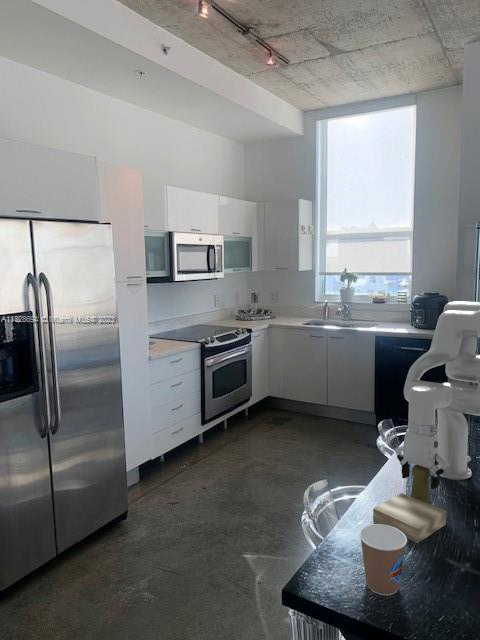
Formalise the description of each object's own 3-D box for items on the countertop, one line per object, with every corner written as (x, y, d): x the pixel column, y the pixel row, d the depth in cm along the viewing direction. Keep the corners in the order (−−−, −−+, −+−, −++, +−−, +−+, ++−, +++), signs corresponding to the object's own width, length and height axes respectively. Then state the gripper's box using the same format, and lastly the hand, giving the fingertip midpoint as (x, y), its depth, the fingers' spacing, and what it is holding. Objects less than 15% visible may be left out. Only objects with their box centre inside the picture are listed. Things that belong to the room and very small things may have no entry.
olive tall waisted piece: (432, 506, 144) (433, 471, 143) (411, 504, 145) (412, 470, 144) (429, 496, 150) (429, 463, 149) (408, 495, 151) (409, 461, 150)
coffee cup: (399, 607, 102) (400, 554, 101) (353, 591, 108) (353, 540, 107) (411, 580, 111) (411, 531, 110) (367, 566, 117) (367, 519, 115)
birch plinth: (401, 505, 145) (401, 493, 145) (445, 524, 134) (446, 510, 134) (373, 521, 136) (373, 508, 136) (417, 543, 125) (418, 528, 125)
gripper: (455, 432, 141) (453, 488, 142) (403, 418, 154) (401, 470, 156) (442, 437, 136) (440, 496, 137) (389, 423, 149) (388, 476, 151)
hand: (419, 482), depth 147 cm, fingers open, 9 cm apart
